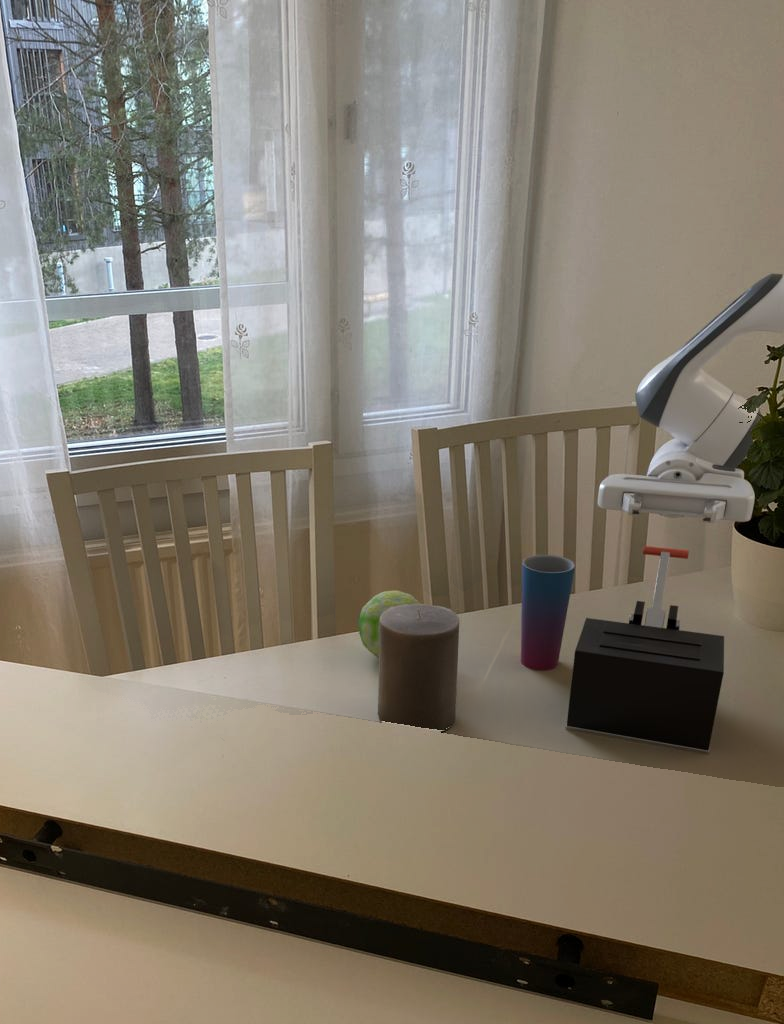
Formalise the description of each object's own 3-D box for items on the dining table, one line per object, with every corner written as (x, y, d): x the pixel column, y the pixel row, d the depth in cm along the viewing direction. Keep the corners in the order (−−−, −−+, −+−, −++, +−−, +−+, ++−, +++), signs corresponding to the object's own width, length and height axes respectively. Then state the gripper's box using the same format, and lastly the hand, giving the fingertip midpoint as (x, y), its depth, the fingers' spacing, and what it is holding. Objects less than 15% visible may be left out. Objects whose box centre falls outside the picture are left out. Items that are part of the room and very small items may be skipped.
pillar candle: (427, 746, 109) (431, 632, 102) (362, 720, 115) (362, 611, 108) (470, 713, 116) (476, 605, 109) (406, 691, 121) (409, 586, 115)
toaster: (709, 715, 114) (725, 634, 109) (708, 757, 105) (725, 671, 100) (576, 693, 120) (585, 616, 115) (564, 731, 111) (574, 649, 106)
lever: (643, 550, 120) (644, 542, 118) (688, 555, 118) (689, 546, 116) (629, 633, 117) (630, 626, 115) (675, 639, 115) (676, 632, 113)
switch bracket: (614, 677, 123) (625, 596, 118) (677, 686, 120) (691, 605, 115) (609, 697, 118) (620, 614, 113) (675, 708, 115) (689, 623, 110)
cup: (505, 657, 129) (512, 558, 123) (547, 650, 131) (557, 552, 125) (530, 678, 124) (539, 575, 117) (573, 670, 125) (585, 568, 119)
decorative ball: (441, 660, 129) (444, 595, 125) (387, 680, 124) (388, 613, 120) (397, 636, 137) (398, 574, 132) (343, 654, 132) (343, 590, 127)
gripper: (605, 459, 136) (593, 484, 124) (755, 470, 128) (758, 497, 117) (600, 500, 138) (588, 528, 127) (747, 513, 131) (749, 544, 120)
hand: (671, 513), depth 122 cm, fingers open, 8 cm apart
